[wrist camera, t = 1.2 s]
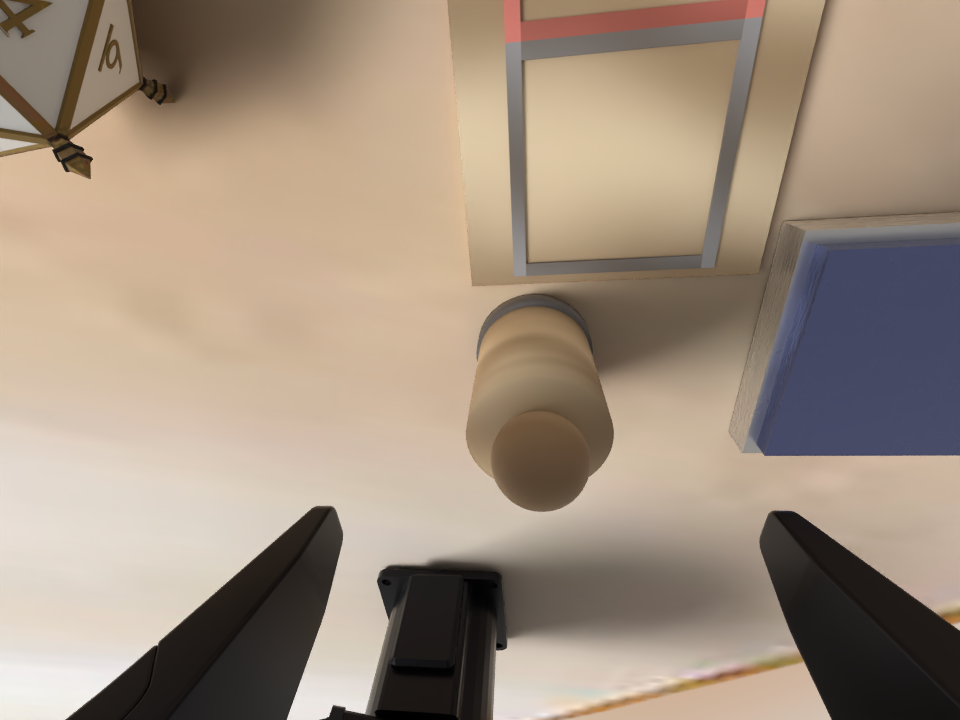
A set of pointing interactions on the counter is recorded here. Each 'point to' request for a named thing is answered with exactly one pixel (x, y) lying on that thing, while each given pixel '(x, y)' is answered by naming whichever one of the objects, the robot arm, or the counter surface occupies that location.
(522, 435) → the stamp
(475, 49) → the card sheet
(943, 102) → the counter surface
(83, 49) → the game die
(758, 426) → the ink pad
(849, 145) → the counter surface
